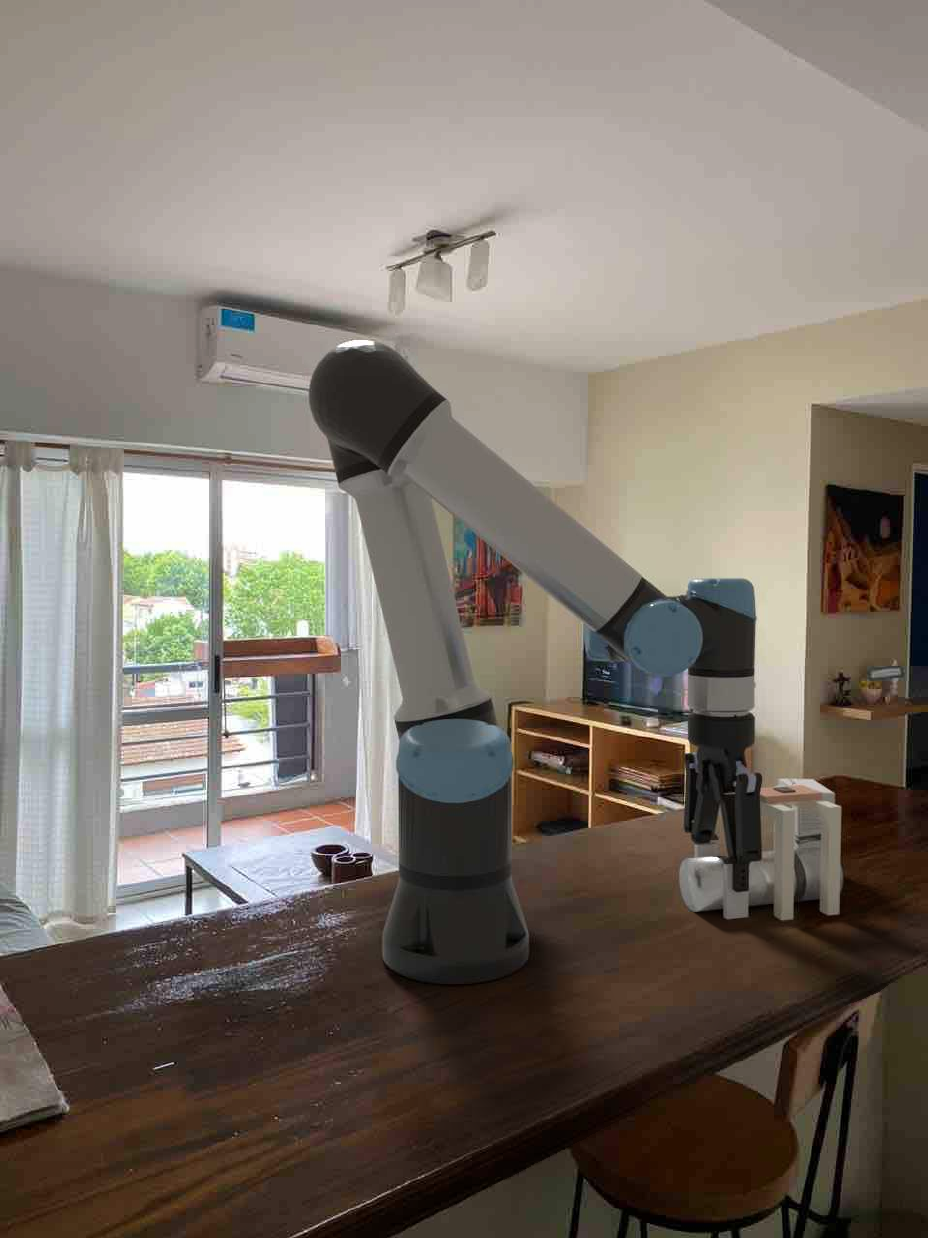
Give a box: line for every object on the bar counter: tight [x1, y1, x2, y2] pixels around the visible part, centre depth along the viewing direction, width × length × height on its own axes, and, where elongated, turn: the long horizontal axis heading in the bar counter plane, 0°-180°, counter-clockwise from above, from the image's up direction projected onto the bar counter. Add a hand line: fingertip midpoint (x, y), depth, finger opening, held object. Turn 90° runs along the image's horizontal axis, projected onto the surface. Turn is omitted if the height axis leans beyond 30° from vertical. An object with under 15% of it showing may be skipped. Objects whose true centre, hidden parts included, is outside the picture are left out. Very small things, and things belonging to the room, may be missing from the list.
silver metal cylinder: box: [678, 847, 844, 913], centre depth 111 cm, size 18×6×6 cm, turn 104°
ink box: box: [777, 778, 836, 849], centre depth 122 cm, size 9×5×12 cm, turn 179°
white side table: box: [731, 785, 842, 921], centre depth 112 cm, size 8×11×14 cm
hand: (720, 906), depth 110 cm, fingers open, 6 cm apart
